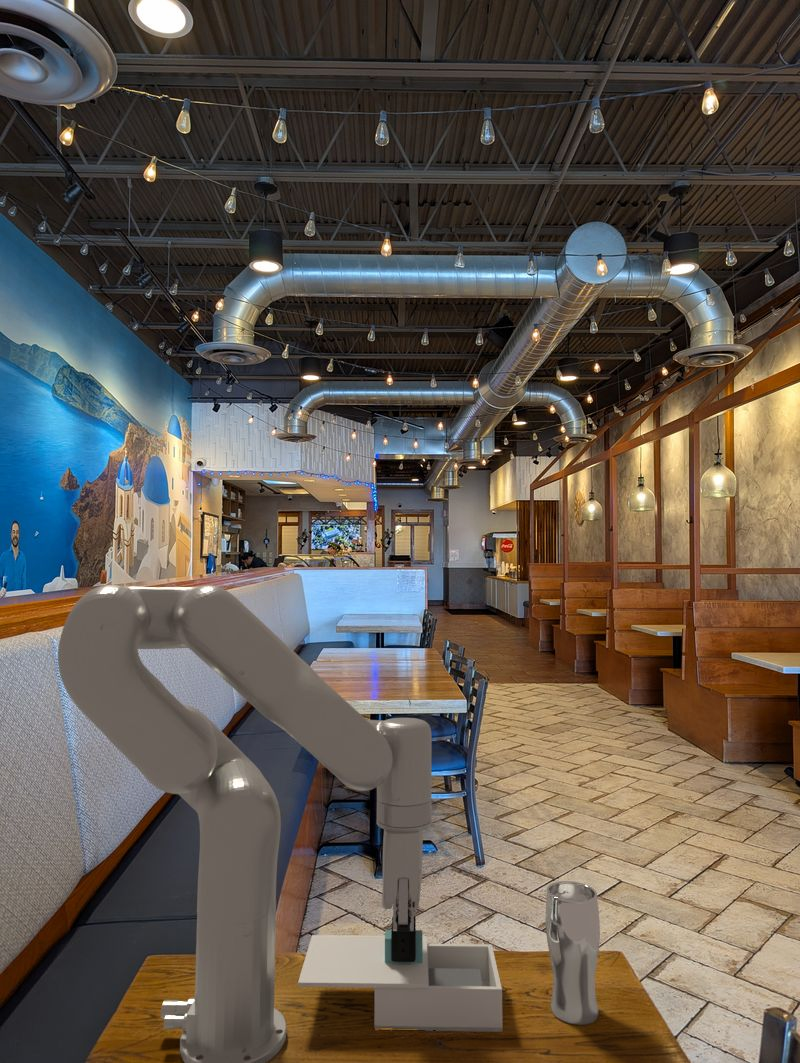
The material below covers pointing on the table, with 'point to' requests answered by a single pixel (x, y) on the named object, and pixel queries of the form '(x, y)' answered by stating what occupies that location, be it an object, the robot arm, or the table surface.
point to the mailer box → (446, 995)
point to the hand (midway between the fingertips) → (403, 953)
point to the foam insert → (454, 977)
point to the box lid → (362, 963)
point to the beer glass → (573, 950)
